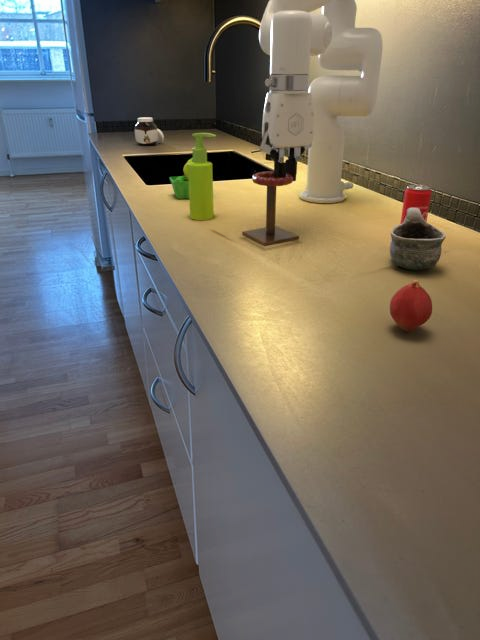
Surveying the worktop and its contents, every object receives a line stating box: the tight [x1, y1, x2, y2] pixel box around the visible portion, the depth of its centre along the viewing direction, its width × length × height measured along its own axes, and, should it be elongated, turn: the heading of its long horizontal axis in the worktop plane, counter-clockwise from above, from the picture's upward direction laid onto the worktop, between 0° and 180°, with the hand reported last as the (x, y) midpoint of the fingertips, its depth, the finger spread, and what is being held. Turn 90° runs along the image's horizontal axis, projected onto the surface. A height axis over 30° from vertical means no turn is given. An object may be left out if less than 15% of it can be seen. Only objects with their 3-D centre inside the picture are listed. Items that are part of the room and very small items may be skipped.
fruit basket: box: [169, 157, 193, 200], centre depth 145 cm, size 11×9×11 cm
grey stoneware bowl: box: [389, 208, 447, 271], centre depth 97 cm, size 10×12×10 cm
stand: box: [241, 186, 300, 247], centre depth 109 cm, size 9×9×12 cm
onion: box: [389, 279, 433, 332], centre depth 73 cm, size 6×6×8 cm
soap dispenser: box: [188, 132, 217, 221], centre depth 124 cm, size 6×7×20 cm
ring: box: [251, 170, 294, 187], centre depth 106 cm, size 8×8×2 cm
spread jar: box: [134, 116, 165, 147], centre depth 236 cm, size 12×11×12 cm
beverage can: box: [399, 184, 432, 225], centre depth 108 cm, size 5×5×12 cm
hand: (285, 180), depth 108 cm, fingers closed on ring, 2 cm apart
